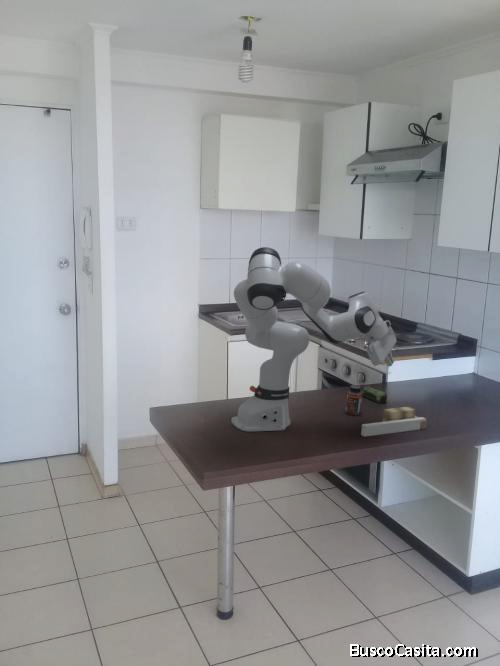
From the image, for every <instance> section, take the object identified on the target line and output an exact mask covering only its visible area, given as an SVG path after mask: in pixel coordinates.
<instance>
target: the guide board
mask: <svg viewBox="0 0 500 666" xmlns="http://www.w3.org/2000/svg"><path fill="white" fill-rule="evenodd" d="M427 422H428V421H427V418H425V417H424V416H422V417H420V416H417V415H415V418H411V419H403V420H394V421H386V422H382V421H380V422H371V423H370V422H369V423H363V424H361V431H360V432H361V433H360V435H361V436H362V437H365V438H366V437H373V436H379V435H380V436H381V435H387V434H394V433H402V432H411V431H417V430H425V429H427Z"/></svg>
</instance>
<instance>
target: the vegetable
mask: <svg viewBox="0 0 500 666" xmlns="http://www.w3.org/2000/svg"><path fill="white" fill-rule="evenodd" d="M361 393H362V397H364V398H366V399H369V400H371V401H373V402H377V403H378V404H382V403H385V402H386V401H387V400H388V395H387V393H386V392H385V391H381V390H378V389H376V388H373V387H371V386H368V385H367V386H363V388H362V389H361Z"/></svg>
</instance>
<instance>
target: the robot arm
mask: <svg viewBox="0 0 500 666" xmlns="http://www.w3.org/2000/svg"><path fill="white" fill-rule="evenodd" d="M281 266H282V260H281V257H280V254H279V253H278V251H277V250H276V249H274V248H273V247H272V248H271V247H267V246H265V247H264V246H263V247H260V248H257V249H255V250H254V251H253V252H252V254H251V255H250V258H249V262H248V267H247V277H246V279H243V280H242V281H240V282H238V283H237V284H236V286H235V287H234V290H233V296H234V301H235V303H236V306H237V308H238V309H239V311H240V312H241V314H242V315H243V317H244V318H245V320H246V321H247V323H248V324H247V325H246V327H245V332H244V333H245V339H246V341H247V343H249V344H250V345H252V346H254V347H256V348H260V349H264V350H268V351H269V350H270V351H273V352H272V356H271V358H269V359H267V360H265V361H264V362H263V363H262V364H261V366H259V367H260V368H259V380H258V381H259V382H258V385H257V387H256V386H254V385H250V387H249V391H250V392H252V393H253V394H254V395H252V396H251V397H250V398H248V399H247V400H246V401H245V402H243V403H242V404H240V406H239V407H238V410H237V414H236V415H237V416H233V417H231V421H230V422H231V424H232V425H233V426H234V428H237V429H238V430H239V431H243V432H264V431H265V432H268V431H269V432H273V431H284V430H286V428H288V427H289V426H290V425H291V419H290V412H289V399H290V386H289V383H290V376H291V375H290V374H291V367H292V364H293V363H294V361H295V360H296V358H297V357H298V356H299V355H301V354H302V353H304V352H305V351H306V350H307V348H308V346H309V343H310V334H309V331H308V330H307V328H305V327H302V326H301V325H298V324H295V323H289V322H285V321H284V322H283V321H280V320H278V318H279V311H278V308H277V305H279V303H282V302H283V301H284V300H285V299H286V298H287V294H288V295H291V296H292V297H294V298H295V299H296V300H297V301H299V305H300V306H299V307H300V309H301V311H302V312H303V313H304V315H305V316H306V317H307V318H308V319H309V320H310V321H311V322H312V323H313V324H314V325H315V327H317V328H318V330H320V332H321V333H322V335H323V336H324V338H326V340H327V341H328V342H330V343H331V344H334V345H335V344H341V343H343V342H345V341H347V340H351V339H355V338H357V337H361V336H363V338H364V340H365V341H366V342H367V343H366V352H367V356H368V357H369V360H370V362H371V364H372V365H373V366H374V367H375V366H380V365H382V364H383V363H385V364H386V366H387V367H392V366H393V364H394V362H395V361H394V359H393V354H392V353H393V352H392V349H393V348H394V346H395V345H396V343H397V337H396V334H395V332H394V330H393V328H392V327H391V325H392V323H391V322H390V320H389V319H387V320H384V319H383V318H382V317H381V316H380V314H379V310H378V307H377V304H376V303H375V302H374V300H373V298H372V297H371V295H370V294H369V293H368V292H367V291H360V292H358V293H354V294H352V295H350V296H349V297H348V298H347V303H348V310H347V311H346V312H345V311H344V312H342V313H340V314H336V315H335V314H334V315H330V314H328V313H327V312H326V311H325V310H324V309H323V308H324V307H325V306H326V305H327V304H328V302H329V299H330V298H331V292H332V291H331V290H332V289H331V285H330V283H329V281H328V280H327V279H326V278H325V277H324V276H322V274H320V273H319V272H317V271H316V270H315V269H313V268H311V267H310V266H309V265H307V264H305V263H302V262H299V261H291V262H288V263H287V264H285V266H284V267H281Z"/></svg>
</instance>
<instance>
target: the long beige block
mask: <svg viewBox="0 0 500 666" xmlns="http://www.w3.org/2000/svg"><path fill="white" fill-rule="evenodd" d="M415 416H416V409H415V408H413V407H410V406H402V407H393V408H384V409H383V412H382V421H381V422H386V421H394V420H403V419H411V418H415Z"/></svg>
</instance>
